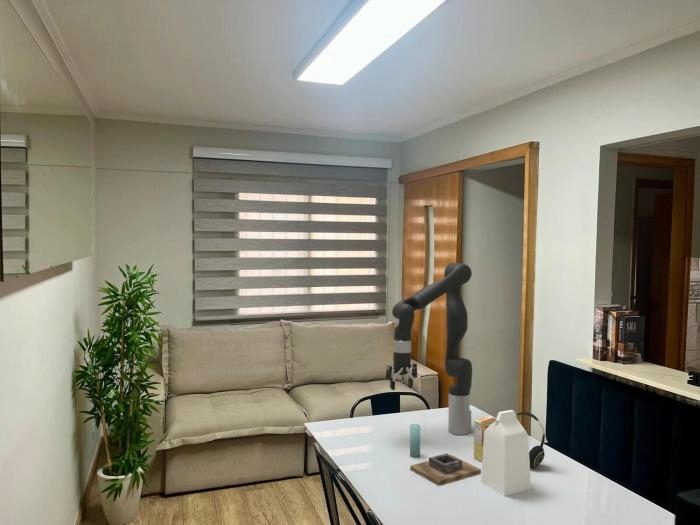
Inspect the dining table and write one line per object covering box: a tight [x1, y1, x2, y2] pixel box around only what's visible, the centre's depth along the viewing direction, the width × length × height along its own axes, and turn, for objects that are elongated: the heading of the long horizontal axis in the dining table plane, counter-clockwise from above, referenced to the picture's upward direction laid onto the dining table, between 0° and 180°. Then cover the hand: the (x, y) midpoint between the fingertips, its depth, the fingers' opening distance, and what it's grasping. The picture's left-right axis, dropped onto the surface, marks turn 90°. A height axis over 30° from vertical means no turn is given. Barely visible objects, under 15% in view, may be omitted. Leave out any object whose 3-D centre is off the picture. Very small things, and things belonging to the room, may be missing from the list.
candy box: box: [473, 416, 496, 463], centre depth 218 cm, size 9×4×15 cm, turn 129°
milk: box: [480, 409, 532, 497], centre depth 193 cm, size 12×12×26 cm
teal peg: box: [409, 423, 421, 458], centre depth 220 cm, size 4×4×12 cm
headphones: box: [515, 411, 546, 468], centre depth 212 cm, size 9×15×20 cm, turn 39°
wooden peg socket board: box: [409, 453, 482, 486], centre depth 205 cm, size 20×16×4 cm
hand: (401, 388), depth 236 cm, fingers open, 8 cm apart
